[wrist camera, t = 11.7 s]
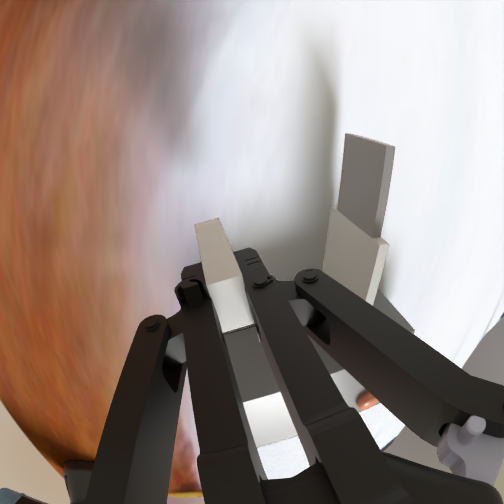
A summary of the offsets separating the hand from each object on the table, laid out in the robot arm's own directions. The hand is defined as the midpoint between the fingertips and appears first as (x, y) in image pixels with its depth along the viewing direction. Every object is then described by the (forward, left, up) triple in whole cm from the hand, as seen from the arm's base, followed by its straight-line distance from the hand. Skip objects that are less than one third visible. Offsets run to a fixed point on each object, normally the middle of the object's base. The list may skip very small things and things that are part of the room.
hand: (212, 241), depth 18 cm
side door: (+10, -4, -4) cm, 11 cm away
